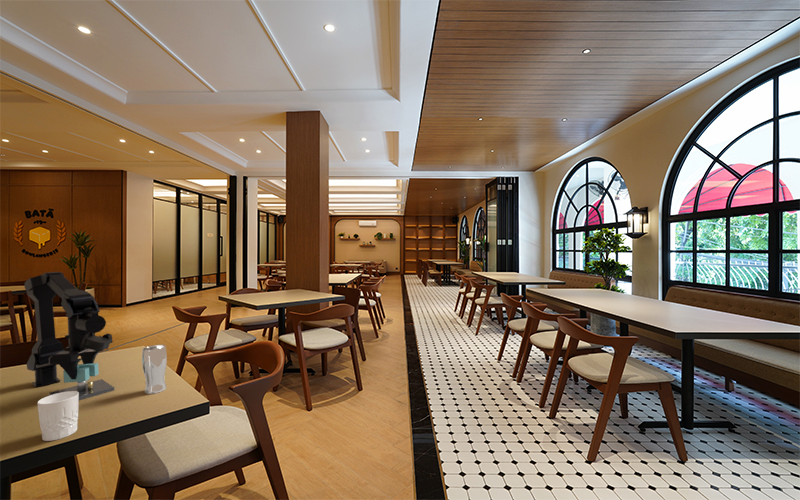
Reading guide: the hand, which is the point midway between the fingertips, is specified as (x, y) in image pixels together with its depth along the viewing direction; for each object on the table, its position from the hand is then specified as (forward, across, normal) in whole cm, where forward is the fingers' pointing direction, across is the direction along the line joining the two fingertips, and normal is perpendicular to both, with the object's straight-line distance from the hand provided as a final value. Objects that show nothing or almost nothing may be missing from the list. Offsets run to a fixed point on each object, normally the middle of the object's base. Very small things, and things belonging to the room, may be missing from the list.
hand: (81, 375), depth 120 cm
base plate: (+6, 0, 0) cm, 6 cm away
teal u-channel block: (+1, 0, 0) cm, 1 cm away
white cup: (+6, -30, -14) cm, 33 cm away
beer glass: (+6, -4, -25) cm, 26 cm away
